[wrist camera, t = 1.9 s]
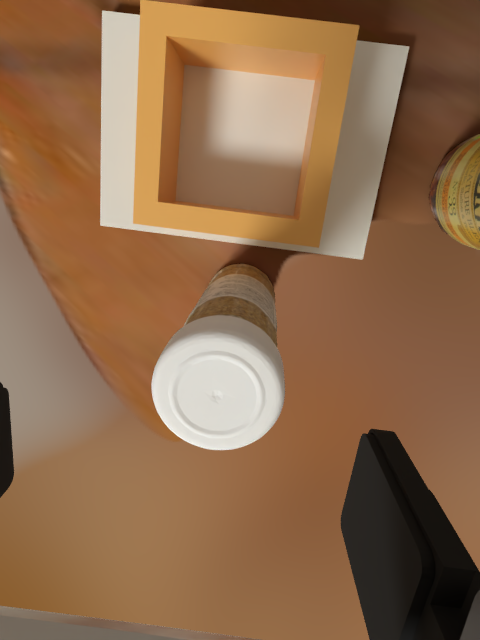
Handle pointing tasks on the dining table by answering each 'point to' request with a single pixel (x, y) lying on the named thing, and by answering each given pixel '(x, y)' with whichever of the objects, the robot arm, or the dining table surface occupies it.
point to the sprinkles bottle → (223, 365)
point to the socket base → (244, 126)
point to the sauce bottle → (459, 193)
